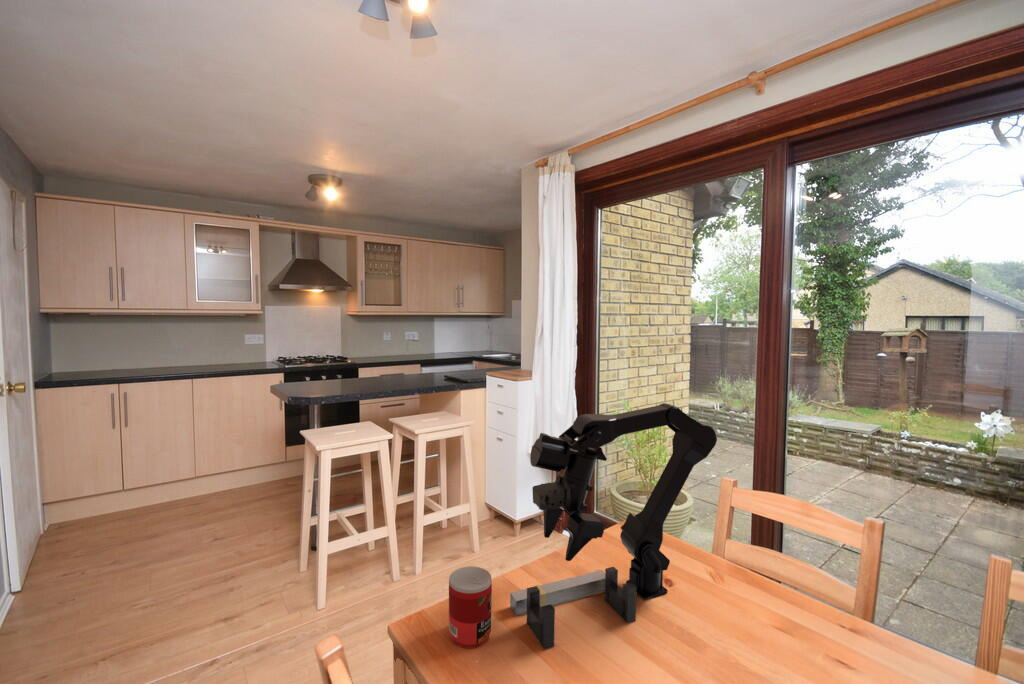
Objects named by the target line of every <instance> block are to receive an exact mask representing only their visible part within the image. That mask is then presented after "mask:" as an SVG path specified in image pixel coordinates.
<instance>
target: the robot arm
mask: <svg viewBox="0 0 1024 684" xmlns="http://www.w3.org/2000/svg"><path fill="white" fill-rule="evenodd" d="M665 426H666V427H668V428H669V430H671V431H672V432H674V435H673V438H672V453H671V456H670V458H669V460H668V461H667V463H666V465H665V467H664V469H663V471H662V473H661V474H660V477H659V479H658V480H657V483H655V485H654V488H653V490H652V492H651V494H650V495H649V497H648V500H647V501H646V503H645V505H644V507H643V509H642V510H641V511H640V512H638V513H637V514H635V515H634V514H633V513H631V512H630V513H628V514H627V516H626V520H625V521H624V522H623V525H622V526H620V530H621V531H620V535H619V537H620V540H621V544H622V545H623V546H624V547H625V549H626V550H627V552H628V554H630V555H631V556H632V557H633V559H631V560H630V567H629V574H628V575H629V577H628V580H626V581H625V584H627V583H630V582H632V583H633V584H634V585H635V586H636V595H638V596H639V597H641V599H643V600H648V599H652V598H655V597H658V596H661V595H665V594H668V593H669V591H668V589H667V588H666V587H664V585H663V583H664V582H663V577H664V571H668V568H669V565H670V562H671V560H670V559H669V558H668V557H667V556H666V555H665V554H664V553H663V552H662V551H661V550H660V549H661V547H662V543H663V541H664V524H665V521H666V519H667V518H668V516H669V514H670V512H671V510H672V508H673V506H674V505H675V502H676V500H677V499H678V497H679V496H680V495H679V494H680V493H681V491H682V489H683V487H684V485H685V484H686V481H687V480H688V478H689V475H690V474H691V472H692V471H693V469H694V466H696V465H697V464H699V463H700V462H702V461H703V460H705V459H706V458H707V457H708V456H709V455H710V453H711V452H712V450H713V449H714V448H715V446H716V444H717V441H718V437H717V434H716V431H715V430H714V428H713V427H711V426H710V425H706V424H704V423H701V422H699V421H698V420H696V419H694V418H693V417H691V416H689V415H688V414H687V413H686V412H684V411H683V410H681V408H679V407H678V406H676V405H673V404H670V403H666V402H663V403H661V404H659V405H654V406H650V407H645V408H640V409H636V410H630V411H626V412H622V413H616V414H603V413H585V414H581V415H578V416H576V418H575V419H574V421H573V424H572V425H571V426H569V427H568V428H567V429H565V431H564V432H562V433H561V434H560V435H559V436H558V437H556V436H553V435H549V434H547V433H543V432H540V433H539V436H538V438H537V439H536V440H535V442H534V444H533V445H532V446H531V450H530V455H529V456H530V457H529V458H530V459H529V461H530V466H532V467H534V468H539V469H542V470H543V469H544V470H547V471H548V470H549V471H551V472H553V471H554V472H557V473H558V472H561V471H563V473H562V474H559V473H558V475H557V476H556V478H555V481H554V482H553V481H552V482H546V483H541V484H537V485H534V486H532V503H533V504H534V505H536V506H537V507H538V509H539V510H541V511H543V512H542V513H543V537H544V538H547V539H549V538H550V537H551V535H552V533H553V532H554V530H555V529H556V525H557V524H558V521H559V520H560V518H561V516H562V515H563V513H566V514H567V515H568V516H569V517H568V522H567V523H568V526H566V527H565V529H566V531H567V533H568V535H569V537H568V541H567V542H568V543H567V546H566V552H565V557H564V558H565V561H566V562H571V561H572V560H573V559H574V558H575V557H576V556H577V555H578V554H579V552H580V551H581V550H583V548H584V547H585V546H586V545H587V544H588V543H590V542H591V541H592V540H593V539H598V538H603V535H604V531H605V525H604V523H603V521H601V520H600V519H599V518H598V517H597V516H596V515H594V514H592V513H585V512H582V511H588V510H587V509H588V507H589V505H587V504H586V503H585V501H586V498H587V495H588V492H592V491H593V488H594V486H593V485H592V484H591V479H592V475H593V472H594V469H595V465H596V462H597V460H599V461H604V462H606V461H607V459H608V458H607V457H606V455H605V453H604V451H603V448H602V447H603V446H605V445H608V444H611V443H613V442H614V441H615V440H616V439H617V438H619V437H621V436H624V435H628V434H632V433H633V434H634V433H638V432H644V431H646V430H647V431H648V430H652V429H655V428H661V427H665Z"/></svg>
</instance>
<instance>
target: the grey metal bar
mask: <svg viewBox="0 0 1024 684" xmlns="http://www.w3.org/2000/svg"><path fill="white" fill-rule="evenodd" d="M536 586H537V587H538V589H539V590H540V607H542V606H546V605H549V604H551V605H552V606H553V607H554V606H557V605H558V606H559V605H561V603H562V604H565V603H568V602H573V601H575V600H580V599H583V597H584V598H587V596H588V597H591V596H594V595H593V594H595V595H598V593H599V594H601V593H605V571H603V570H602V569H601V570H597V571H593V572H592V571H591V572H588V573H584V574H580V575H577V576H573V577H568V578H565V579H559V580H556V581H552V582H548V583H544V584H538V585H536ZM590 595H591V596H590ZM509 600H510V601H509V603H510V604H509V606H510V608H511V610H512V611H513V613H514V615H515V616H520V615H525V614H527V588H523V589H519V590H517V591H511V592H510V599H509ZM564 602H565V603H564Z"/></svg>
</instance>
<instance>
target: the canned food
mask: <svg viewBox="0 0 1024 684" xmlns="http://www.w3.org/2000/svg"><path fill="white" fill-rule="evenodd" d="M448 579H449V580H448V633H449V637H450V639H451V641H452V642H453V643H454V644H455V645H456V646H458V647H461V648H465V649H474V648H478V647H480V646H481V647H482V646H483V645H484V644H486V643H487V642H488V641H489V639H490V636H491V634H492V602H493V599H492V597H493V596H492V593H493V592H492V590H493V589H492V588H493V587H492V586H493V585H492V581H493V580H492V574H491V573H490V572H489V571H488V570H486V569H485V568H482V567H479V566H463V567H460V568H459V567H458V568H457V569H455V570H453V571H452V572H451V573H450V575H449V578H448Z"/></svg>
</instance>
